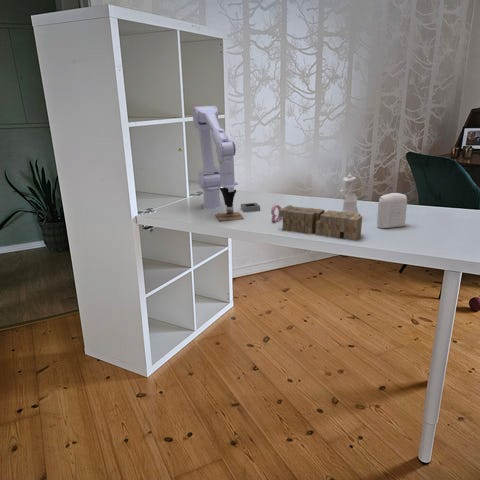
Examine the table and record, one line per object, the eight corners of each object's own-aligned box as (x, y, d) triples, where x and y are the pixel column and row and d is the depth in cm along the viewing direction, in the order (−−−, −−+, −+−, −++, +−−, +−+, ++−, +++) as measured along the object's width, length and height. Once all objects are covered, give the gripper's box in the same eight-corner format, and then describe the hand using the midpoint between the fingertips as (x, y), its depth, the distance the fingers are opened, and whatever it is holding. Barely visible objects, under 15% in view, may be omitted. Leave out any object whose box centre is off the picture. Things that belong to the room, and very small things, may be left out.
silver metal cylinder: (225, 213, 178) (224, 199, 176) (231, 212, 179) (231, 198, 177) (228, 215, 176) (227, 200, 174) (234, 214, 177) (233, 199, 175)
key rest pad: (215, 216, 182) (215, 214, 181) (238, 214, 184) (238, 212, 183) (219, 222, 172) (219, 220, 172) (243, 220, 174) (243, 218, 174)
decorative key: (301, 219, 183) (272, 222, 168) (298, 218, 184) (270, 222, 169) (302, 203, 182) (274, 205, 167) (300, 202, 183) (271, 205, 168)
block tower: (363, 237, 151) (288, 224, 167) (365, 214, 149) (289, 203, 164) (355, 244, 145) (278, 229, 161) (357, 219, 142) (279, 207, 158)
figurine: (336, 216, 174) (338, 171, 168) (356, 215, 174) (358, 170, 168) (342, 221, 167) (344, 175, 161) (362, 220, 167) (365, 173, 162)
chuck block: (240, 209, 191) (240, 204, 190) (256, 208, 192) (256, 202, 192) (244, 213, 184) (244, 207, 184) (260, 211, 186) (260, 206, 185)
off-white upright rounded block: (400, 223, 161) (402, 190, 157) (406, 226, 157) (409, 193, 153) (375, 226, 159) (376, 193, 155) (381, 229, 155) (383, 195, 151)
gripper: (240, 174, 166) (242, 209, 170) (233, 169, 180) (234, 201, 184) (222, 176, 165) (224, 210, 169) (216, 170, 178) (218, 202, 182)
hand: (228, 205), depth 176 cm, fingers closed on silver metal cylinder, 3 cm apart
